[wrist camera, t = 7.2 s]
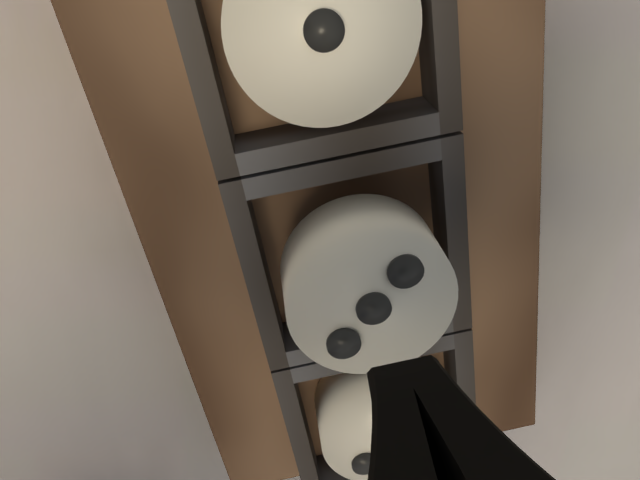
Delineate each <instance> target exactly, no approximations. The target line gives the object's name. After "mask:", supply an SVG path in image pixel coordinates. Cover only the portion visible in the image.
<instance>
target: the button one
mask: <svg viewBox="0 0 640 480" xmlns="http://www.w3.org/2000/svg"><path fill="white" fill-rule="evenodd" d="M421 31H422V7H421V0H223V4H222V13H221V36H222V42H223V47H224V52H225V55H226V58H227V61H228V64H229V66H230V69H231V71H232V73H233V75H234V77H235V78H236V80H237V82H238V83H239V85H240V86H241V88H242V89H243V90H244V91H245V93H246V94H247V95H248V96H249V97H250V98H251V99H252V100H253V101H254V102H255V103H256V104H257V105H258V106H259V107H261V108H262V109H263V110H265V111H266V112H268V113H269V114H271V115H273V116H275V117H276V118H278V119H280V120H283V121H285V122H288V123H291V124H295V125H299V126H303V127H311V128H328V127H335V126H341V125H344V124H348V123H351V122H354V121H356V120H359V119H361V118H363V117H365V116H367V115H368V114H370V113H372V112H373V111H375V110H376V109H377V108H379V107H380V106H382V105H383V104H384V103H385V102H386V101H387V100H388V99H389V98H390V97H391V96H392V95H393V94H394V93H395V92H396V91H397V89H398V88H399V87H400V86H401V84H402V83H403V81H404V80H405V78H406V77H407V75H408V73H409V71H410V69H411V67H412V65H413V63H414V60H415V57H416V54H417V52H418V48H419V43H420V39H421Z"/></svg>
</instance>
